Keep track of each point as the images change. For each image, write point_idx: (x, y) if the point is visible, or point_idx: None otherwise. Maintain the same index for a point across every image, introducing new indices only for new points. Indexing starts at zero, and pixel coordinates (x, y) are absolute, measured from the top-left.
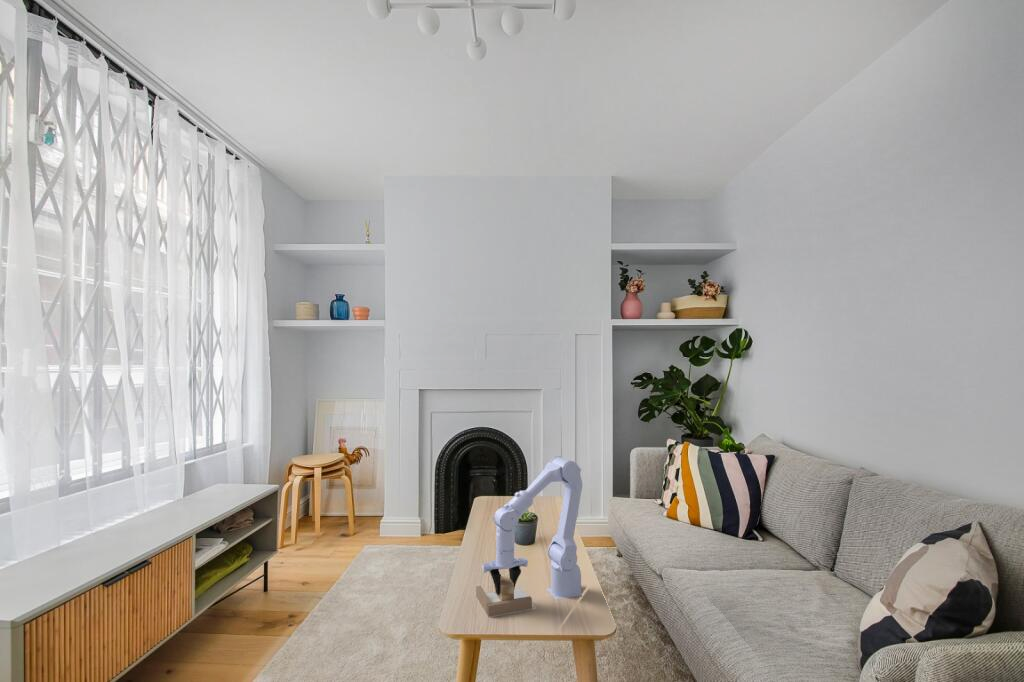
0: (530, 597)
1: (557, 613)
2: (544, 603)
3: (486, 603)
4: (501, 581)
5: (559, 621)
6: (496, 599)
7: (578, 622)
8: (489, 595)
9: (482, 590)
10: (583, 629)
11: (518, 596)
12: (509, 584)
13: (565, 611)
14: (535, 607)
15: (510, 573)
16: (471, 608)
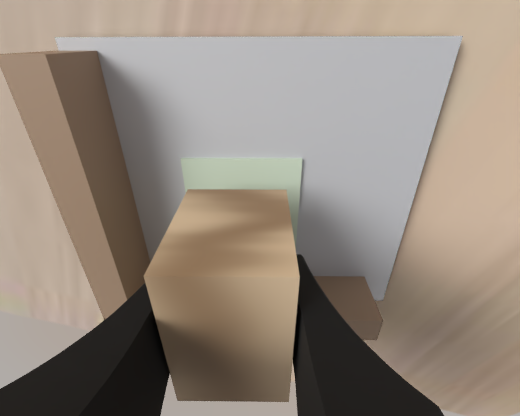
0: (375, 332)
1: (444, 328)
2: (459, 252)
3: (103, 309)
4: (191, 355)
5: (408, 364)
6: (206, 164)
7: (463, 382)
8: (170, 79)
9: (70, 162)
10: (443, 406)
11: (366, 164)
12: (247, 399)
13: (486, 326)
14: (382, 291)
15: (307, 389)
16: (46, 179)
